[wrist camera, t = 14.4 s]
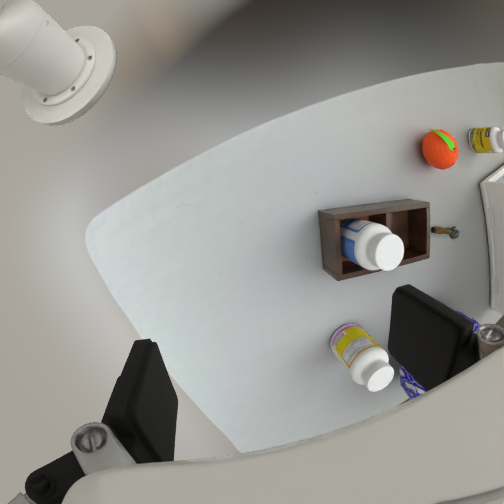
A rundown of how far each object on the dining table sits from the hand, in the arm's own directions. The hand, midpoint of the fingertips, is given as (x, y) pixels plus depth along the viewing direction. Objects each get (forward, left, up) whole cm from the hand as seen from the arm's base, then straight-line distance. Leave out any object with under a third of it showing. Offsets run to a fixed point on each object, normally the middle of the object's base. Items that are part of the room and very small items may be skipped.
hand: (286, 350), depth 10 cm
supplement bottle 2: (+15, +52, -31) cm, 62 cm away
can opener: (+25, +32, -30) cm, 51 cm away
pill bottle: (+12, +13, -30) cm, 35 cm away
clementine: (+9, +36, -31) cm, 48 cm away
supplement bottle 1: (+28, +4, -31) cm, 42 cm away
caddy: (+14, +17, -30) cm, 37 cm away
